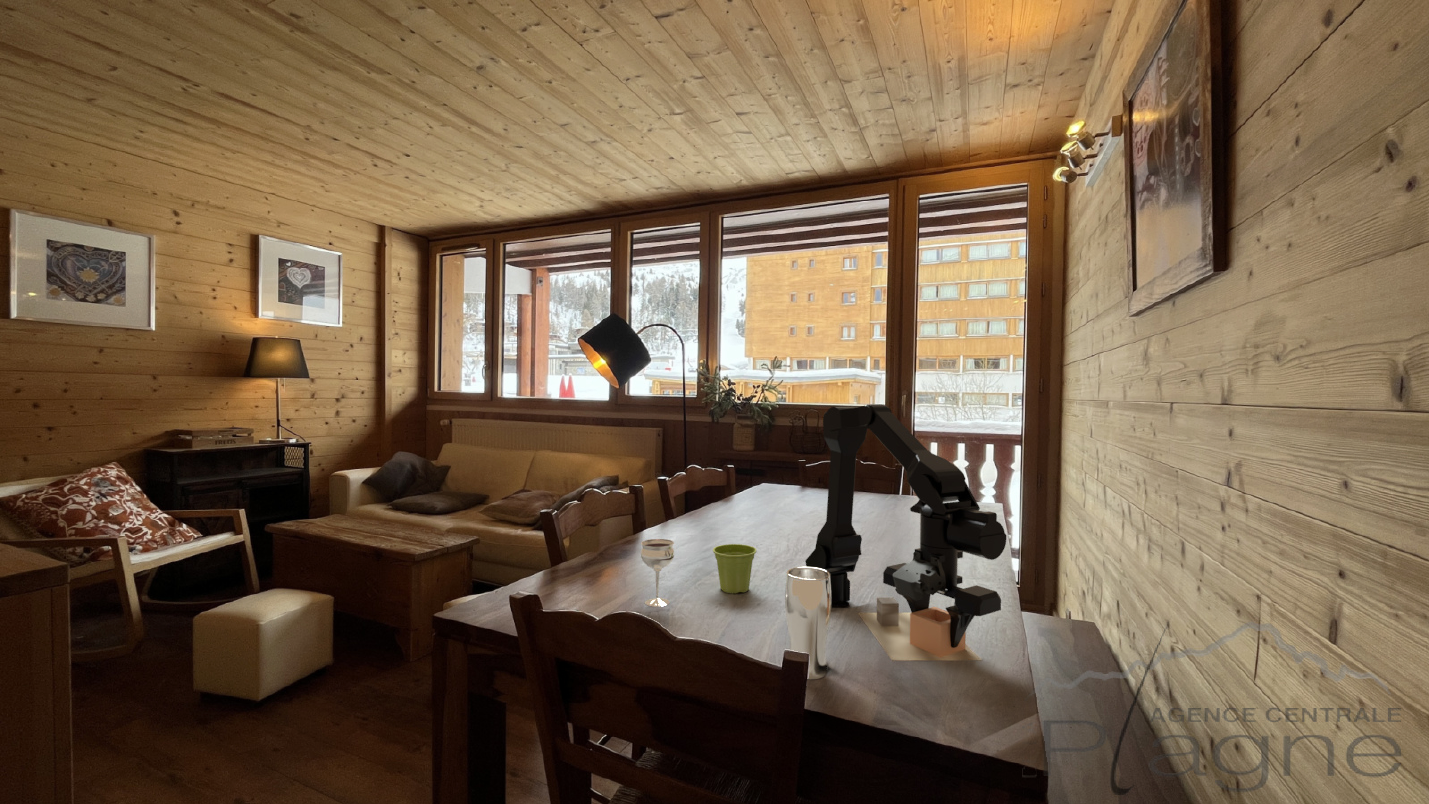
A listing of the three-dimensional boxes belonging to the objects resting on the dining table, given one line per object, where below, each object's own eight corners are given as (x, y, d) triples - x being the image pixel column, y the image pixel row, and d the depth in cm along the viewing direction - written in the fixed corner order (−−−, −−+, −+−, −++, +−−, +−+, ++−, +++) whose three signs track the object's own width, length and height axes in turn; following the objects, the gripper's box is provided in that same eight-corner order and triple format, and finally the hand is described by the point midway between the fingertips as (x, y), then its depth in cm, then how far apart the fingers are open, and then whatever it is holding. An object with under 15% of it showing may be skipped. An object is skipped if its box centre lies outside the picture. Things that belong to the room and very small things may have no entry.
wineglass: (633, 602, 122) (633, 543, 121) (658, 594, 127) (658, 537, 126) (655, 610, 117) (656, 549, 117) (681, 602, 122) (681, 542, 122)
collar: (940, 657, 94) (941, 625, 94) (909, 643, 99) (910, 613, 99) (965, 649, 97) (965, 618, 97) (934, 636, 102) (934, 606, 102)
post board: (891, 670, 93) (892, 634, 93) (857, 620, 113) (858, 591, 113) (982, 669, 93) (982, 634, 93) (932, 620, 113) (932, 591, 113)
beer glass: (780, 661, 96) (781, 566, 95) (823, 659, 96) (824, 565, 96) (789, 682, 89) (790, 580, 88) (836, 680, 89) (837, 579, 89)
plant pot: (705, 593, 128) (705, 552, 127) (722, 580, 136) (722, 541, 136) (747, 599, 124) (747, 557, 124) (761, 585, 133) (762, 546, 132)
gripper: (860, 538, 101) (859, 630, 102) (956, 565, 85) (954, 675, 86) (906, 530, 107) (904, 617, 107) (1003, 555, 91) (1002, 657, 92)
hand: (937, 640), depth 98 cm, fingers closed on collar, 6 cm apart
